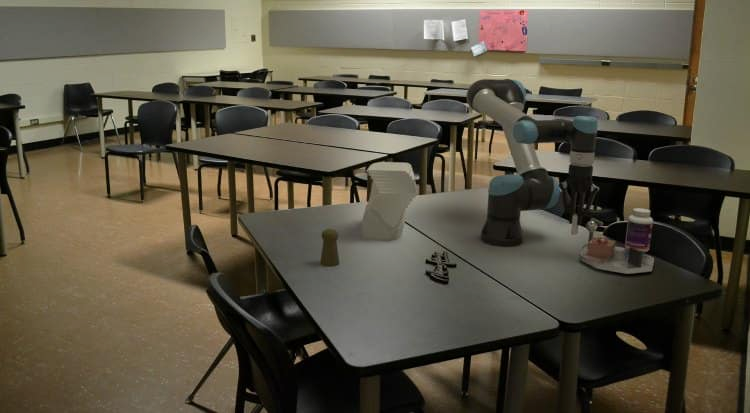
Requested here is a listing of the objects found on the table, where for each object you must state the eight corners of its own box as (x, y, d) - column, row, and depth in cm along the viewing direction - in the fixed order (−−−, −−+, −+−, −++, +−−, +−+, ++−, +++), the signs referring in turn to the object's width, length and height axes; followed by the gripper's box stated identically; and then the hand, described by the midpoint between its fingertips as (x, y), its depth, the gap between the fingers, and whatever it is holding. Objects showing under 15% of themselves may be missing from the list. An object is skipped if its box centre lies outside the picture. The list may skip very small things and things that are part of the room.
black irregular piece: (461, 281, 184) (426, 279, 184) (460, 286, 184) (426, 284, 184) (453, 251, 210) (423, 250, 211) (453, 255, 211) (423, 254, 211)
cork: (342, 261, 201) (342, 228, 198) (334, 267, 195) (335, 233, 193) (324, 259, 203) (325, 226, 200) (317, 265, 197) (317, 231, 194)
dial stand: (580, 250, 218) (584, 220, 215) (585, 246, 223) (588, 216, 220) (599, 254, 215) (602, 223, 212) (603, 249, 220) (606, 219, 217)
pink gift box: (587, 254, 206) (589, 239, 205) (592, 248, 212) (594, 234, 211) (609, 258, 203) (611, 243, 201) (614, 252, 209) (616, 238, 207)
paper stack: (353, 240, 222) (354, 169, 216) (371, 220, 248) (373, 156, 241) (412, 246, 218) (415, 173, 211) (424, 225, 243) (428, 160, 237)
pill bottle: (651, 254, 216) (657, 214, 212) (626, 252, 217) (631, 212, 214) (646, 247, 224) (651, 208, 220) (622, 245, 225) (627, 206, 222)
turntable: (567, 253, 212) (569, 234, 210) (621, 248, 219) (623, 229, 217) (610, 275, 192) (612, 255, 190) (668, 269, 199) (671, 249, 197)
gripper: (558, 163, 205) (551, 233, 211) (599, 168, 199) (591, 239, 204) (564, 160, 211) (558, 228, 217) (604, 164, 205) (596, 234, 210)
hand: (574, 233), depth 211 cm, fingers closed
